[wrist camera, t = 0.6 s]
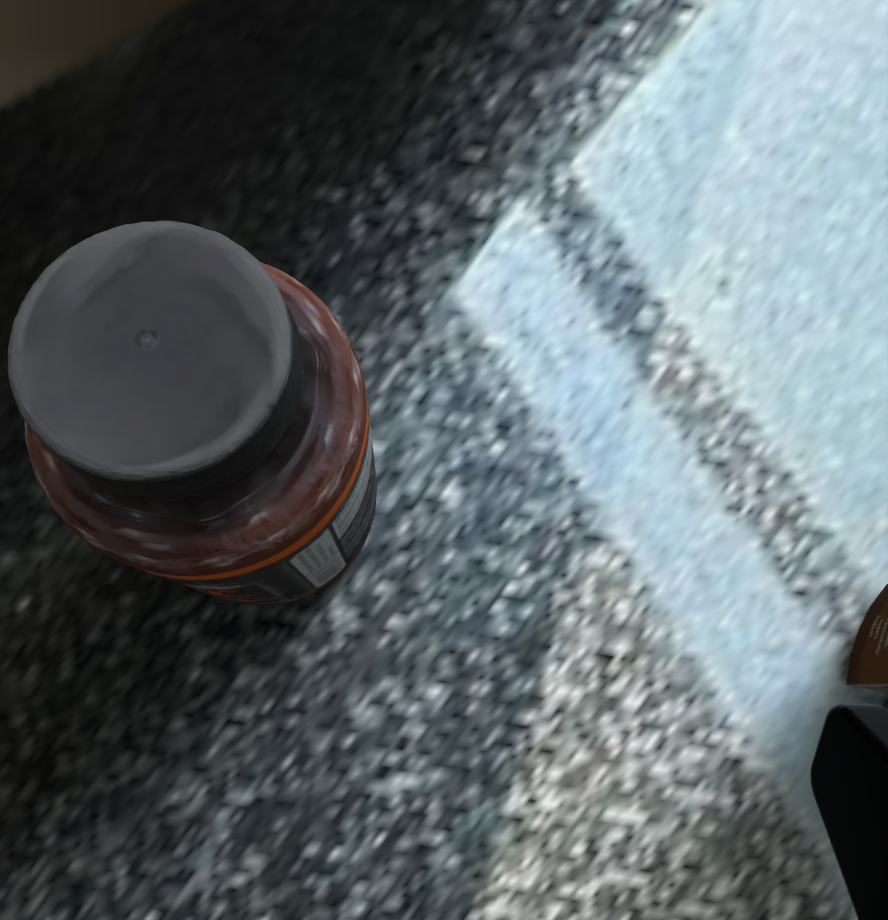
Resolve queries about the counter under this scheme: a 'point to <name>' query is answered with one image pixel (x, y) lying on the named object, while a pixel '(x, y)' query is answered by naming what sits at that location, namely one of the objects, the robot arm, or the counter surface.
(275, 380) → the supplement bottle
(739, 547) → the counter surface
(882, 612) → the food container
